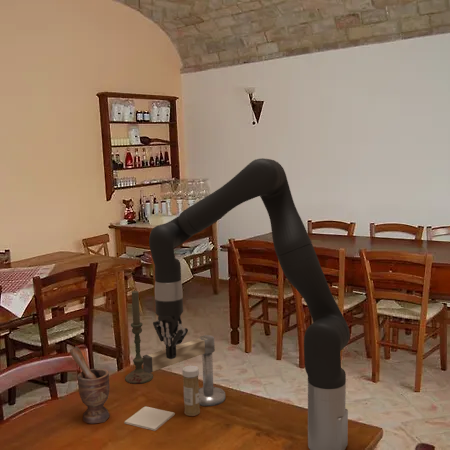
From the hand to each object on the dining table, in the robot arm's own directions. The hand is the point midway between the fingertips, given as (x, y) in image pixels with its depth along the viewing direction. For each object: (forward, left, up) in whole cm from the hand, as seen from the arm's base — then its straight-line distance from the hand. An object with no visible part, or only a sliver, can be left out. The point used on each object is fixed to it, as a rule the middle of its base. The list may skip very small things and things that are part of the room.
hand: (171, 357), depth 158 cm
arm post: (-3, -15, -18) cm, 24 cm away
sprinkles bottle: (-3, -5, -18) cm, 19 cm away
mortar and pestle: (+22, +9, -18) cm, 30 cm away
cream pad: (+6, +3, -18) cm, 19 cm away
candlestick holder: (+25, -19, -18) cm, 36 cm away
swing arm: (+1, -6, -3) cm, 7 cm away
